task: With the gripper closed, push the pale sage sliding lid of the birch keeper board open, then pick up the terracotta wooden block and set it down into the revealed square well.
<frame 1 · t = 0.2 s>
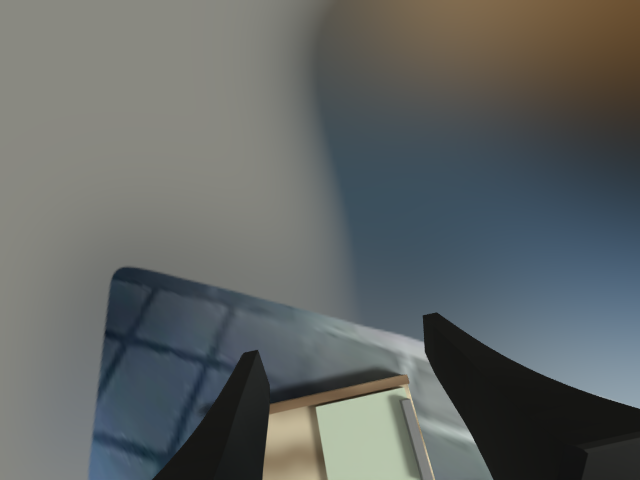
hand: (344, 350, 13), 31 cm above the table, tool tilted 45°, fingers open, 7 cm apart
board: (323, 452, 37), on the table
lid: (371, 447, 35), point 3 cm above the table, slide at 0.0 cm
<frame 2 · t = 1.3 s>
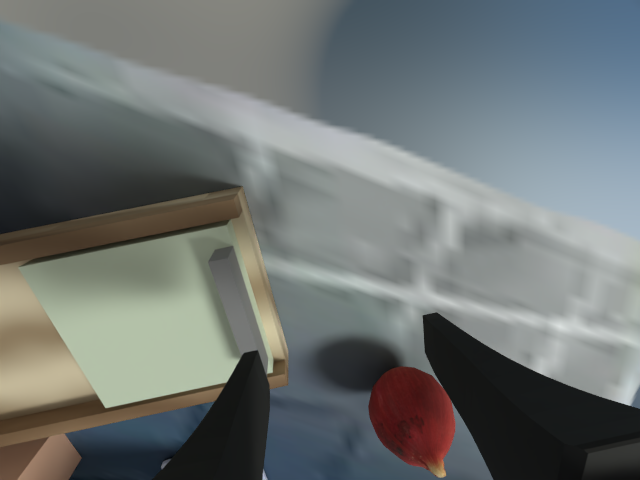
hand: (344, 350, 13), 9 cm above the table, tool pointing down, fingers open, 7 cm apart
onion: (393, 370, 26), on the table
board: (94, 313, 21), on the table
lid: (158, 328, 18), point 3 cm above the table, slide at 0.0 cm
block: (45, 447, 25), on the table
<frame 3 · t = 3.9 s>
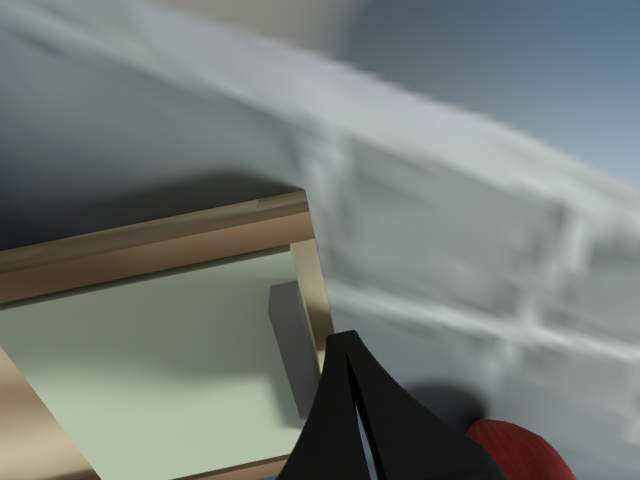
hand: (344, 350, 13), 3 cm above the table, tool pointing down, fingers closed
onion: (474, 419, 20), on the table
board: (99, 360, 16), on the table
lid: (185, 394, 12), point 3 cm above the table, slide at 0.2 cm, touching gripper
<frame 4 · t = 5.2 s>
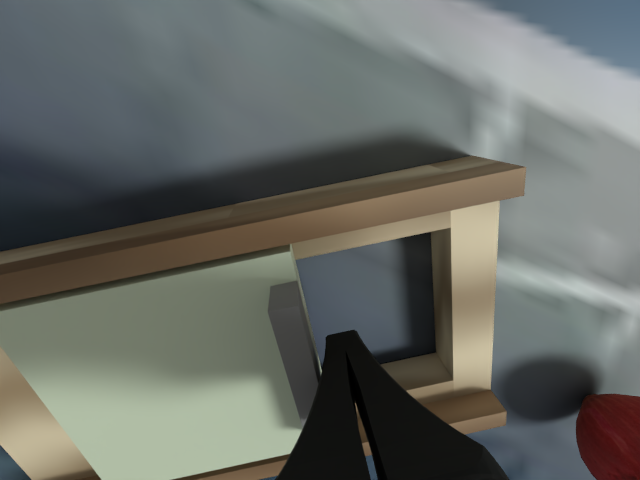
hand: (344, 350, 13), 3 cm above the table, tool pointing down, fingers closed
onion: (583, 395, 20), on the table
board: (243, 329, 16), on the table
lid: (185, 394, 12), point 3 cm above the table, slide at 7.7 cm, touching gripper
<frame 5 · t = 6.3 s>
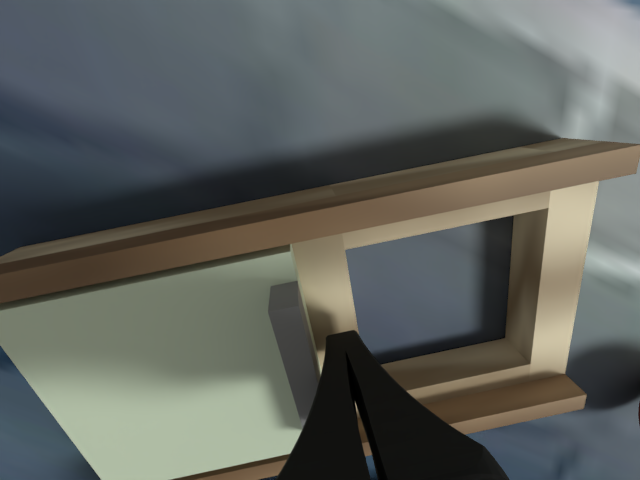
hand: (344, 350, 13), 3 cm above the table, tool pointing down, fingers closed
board: (321, 313, 16), on the table
lid: (185, 394, 12), point 3 cm above the table, slide at 11.8 cm, touching gripper
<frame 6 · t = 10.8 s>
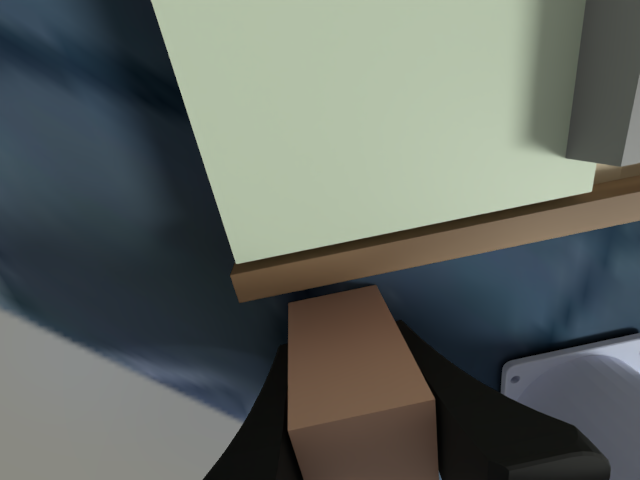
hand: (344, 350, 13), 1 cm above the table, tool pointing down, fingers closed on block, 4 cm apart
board: (550, 16, 10), on the table
lid: (406, 21, 7), point 3 cm above the table, slide at 12.0 cm
block: (339, 329, 14), on the table, touching gripper
when the fingers open (3 cm above the table, at t = 15.7 s): block drops 2 cm, resting in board.
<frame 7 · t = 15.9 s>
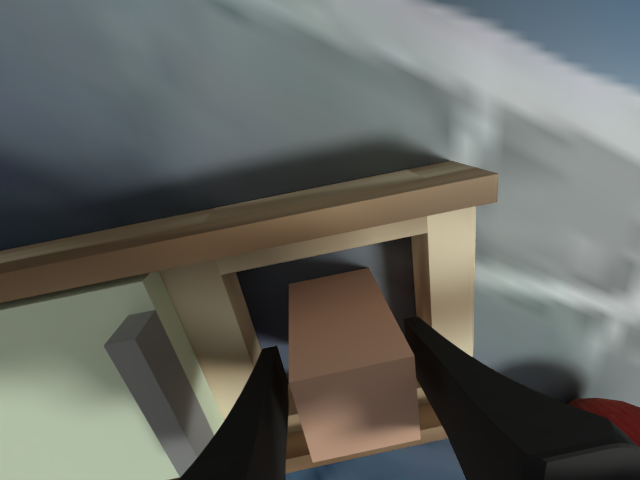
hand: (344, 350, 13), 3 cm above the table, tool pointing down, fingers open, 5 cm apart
onion: (568, 399, 20), on the table
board: (225, 333, 16), on the table
lid: (57, 421, 12), point 3 cm above the table, slide at 12.0 cm
block: (335, 308, 16), resting in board
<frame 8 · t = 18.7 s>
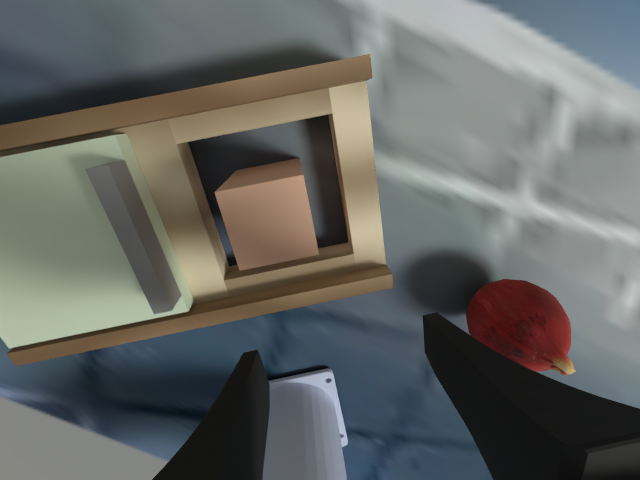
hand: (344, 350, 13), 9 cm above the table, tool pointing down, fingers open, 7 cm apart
onion: (481, 292, 24), on the table
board: (187, 213, 20), on the table
lid: (52, 255, 16), point 3 cm above the table, slide at 12.0 cm
block: (275, 194, 20), resting in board
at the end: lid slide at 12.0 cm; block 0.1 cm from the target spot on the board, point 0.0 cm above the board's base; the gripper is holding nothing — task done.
